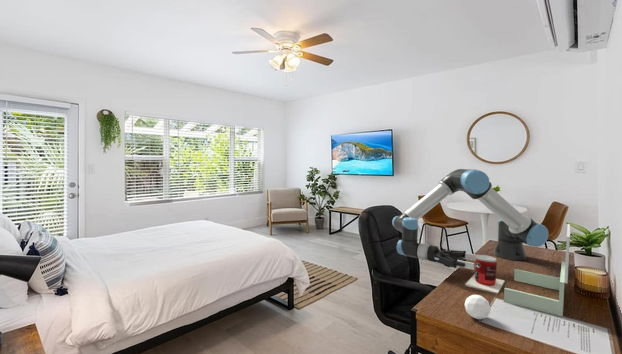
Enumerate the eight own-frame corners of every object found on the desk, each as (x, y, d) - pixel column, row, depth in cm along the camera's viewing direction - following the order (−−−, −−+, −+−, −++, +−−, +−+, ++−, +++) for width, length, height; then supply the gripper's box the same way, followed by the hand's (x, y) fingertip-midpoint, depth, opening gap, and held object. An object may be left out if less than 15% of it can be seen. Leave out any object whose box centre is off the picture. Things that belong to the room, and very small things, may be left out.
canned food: (477, 277, 137) (478, 253, 136) (497, 282, 131) (499, 257, 130) (472, 282, 131) (473, 257, 131) (493, 287, 126) (494, 261, 125)
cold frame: (514, 279, 136) (517, 218, 134) (566, 291, 124) (570, 224, 123) (504, 301, 115) (506, 229, 113) (565, 317, 103) (569, 237, 101)
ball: (473, 327, 102) (461, 310, 101) (470, 308, 109) (459, 292, 108) (497, 322, 98) (484, 304, 97) (492, 303, 105) (480, 286, 104)
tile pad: (474, 275, 141) (474, 273, 141) (504, 281, 133) (504, 280, 133) (465, 285, 129) (465, 284, 129) (497, 293, 121) (497, 292, 121)
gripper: (437, 254, 156) (483, 263, 142) (419, 267, 137) (470, 279, 123) (437, 240, 156) (483, 248, 142) (419, 250, 137) (470, 261, 123)
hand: (477, 262), depth 133 cm, fingers open, 13 cm apart
